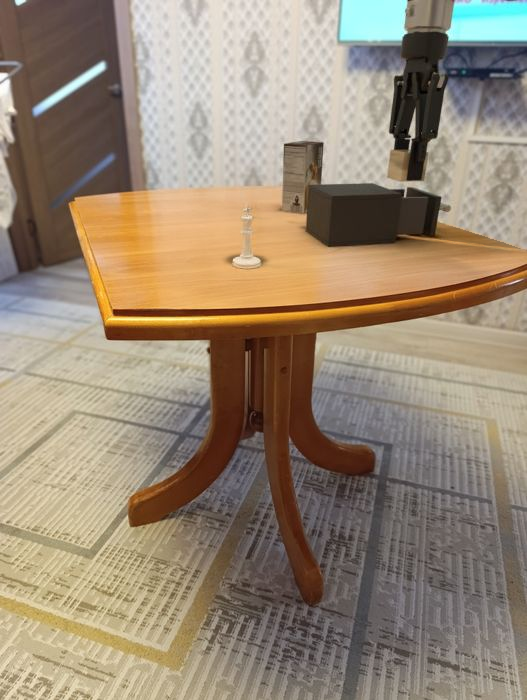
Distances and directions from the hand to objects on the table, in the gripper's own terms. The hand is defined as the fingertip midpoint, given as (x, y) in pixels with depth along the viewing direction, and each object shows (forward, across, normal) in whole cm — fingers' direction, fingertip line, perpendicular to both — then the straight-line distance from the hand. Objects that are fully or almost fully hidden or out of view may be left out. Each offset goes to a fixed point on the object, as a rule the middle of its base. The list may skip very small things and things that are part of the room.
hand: (405, 177), depth 96 cm
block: (0, 0, 0) cm, 0 cm away
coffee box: (+13, -32, -8) cm, 35 cm away
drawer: (+12, -7, +5) cm, 14 cm away
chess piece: (+13, +6, -33) cm, 36 cm away
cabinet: (+13, -7, -7) cm, 16 cm away
